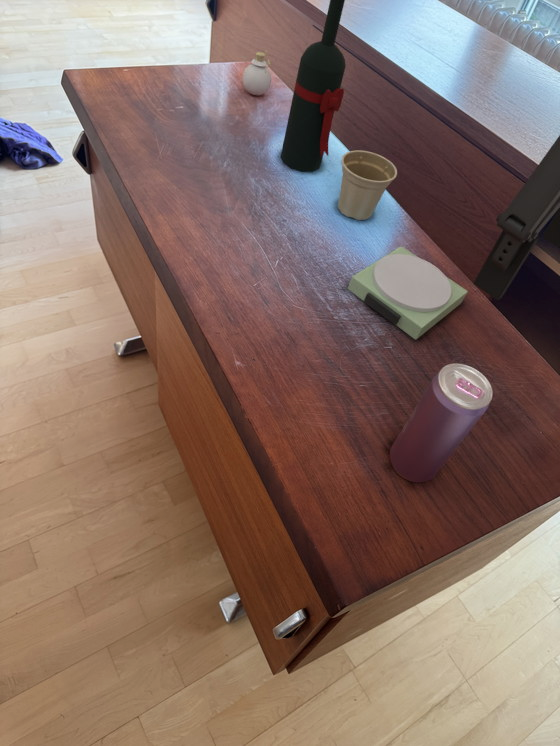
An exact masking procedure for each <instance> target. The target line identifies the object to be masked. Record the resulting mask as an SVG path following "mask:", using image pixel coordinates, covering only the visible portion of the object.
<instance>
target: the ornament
mask: <svg viewBox="0 0 560 746" xmlns="http://www.w3.org/2000/svg"><path fill="white" fill-rule="evenodd" d="M264 52H265V53H264ZM264 52H262V51H257V52H256V53H255V54H256V58H253V59H252V60H251V63H250V64H249V65H247V66H246V68H245V69H244V71H243V73H242V84H243V88H245V90H246V91H247V93H249V94H250V95H253V96H262V95H264V94H266V93H267V92H268V91H269V89H270V87H271V85H272V74H271V71H270V69H269V67H268V66H269V65H271V62H270V60H265V59H264V58H265V57H266V54H268V48H266V49H265V50H264Z"/></svg>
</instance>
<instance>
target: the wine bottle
mask: <svg viewBox="0 0 560 746" xmlns="http://www.w3.org/2000/svg"><path fill="white" fill-rule="evenodd" d="M345 2H346V0H329V4H328V9H327V13H326V18H325V22H324V27H323V31H322V36H321V40H320V41H316V42H313V43H312V44H310V45H309V46H307V48H306V49H305V50H304V52H303V53H302V55H301V57H300V61H299V65H298V71H297V75H296V80H295V84H294V89H293V93H292V99H291V104H290V108H289V113H288V119H287V124H286V127H285V134H284V138H283V143H282V148H281V153H280V156H279V157H280V160H281V161H282V164H283V165H285V166H287V167H288V168H290V169H291V170H294V171H297V172H300V173H314V172H316V171H319V170H320V168H321V166H322V163H323V158H324V154H325V155H326V156H327V157H329V140H330V135H331V129H332V124H333V119H334V115H335V112H338V111H339V110H340V108H341V106H342V102H343V98H344V94H345V89H344V88H342V82H343V78H344V75H345V70H346V67H347V65H346V64H347V63H346V59H345V56H344V53H342V51H341V50H340V49H339V47H338V46H337V45H336V39H337V35H338V31H339V27H340V23H341V18H342V14H343V10H344V6H345Z"/></svg>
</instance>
